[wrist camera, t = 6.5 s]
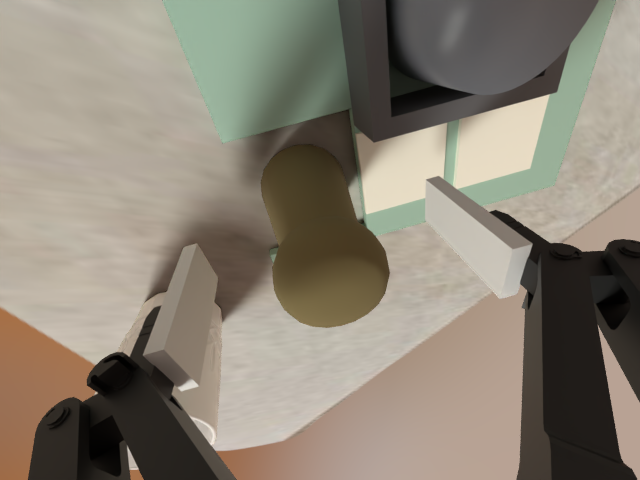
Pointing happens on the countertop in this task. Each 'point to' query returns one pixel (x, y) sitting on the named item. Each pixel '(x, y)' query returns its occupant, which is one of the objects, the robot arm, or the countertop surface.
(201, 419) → the white cup
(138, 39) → the countertop surface
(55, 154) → the countertop surface
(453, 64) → the dome
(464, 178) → the game board
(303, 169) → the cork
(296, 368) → the countertop surface
